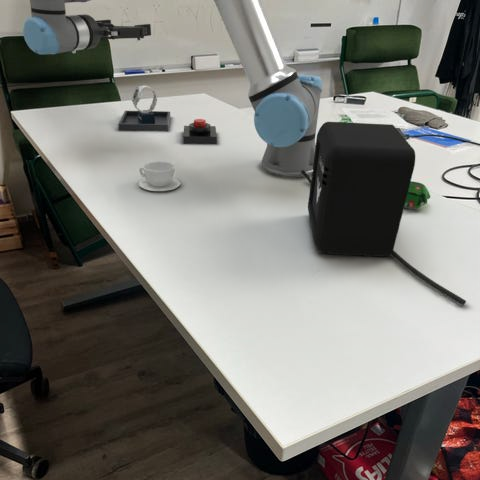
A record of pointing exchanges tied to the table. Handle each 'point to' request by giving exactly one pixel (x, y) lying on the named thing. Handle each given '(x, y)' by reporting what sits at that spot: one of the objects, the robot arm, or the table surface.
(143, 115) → the watch
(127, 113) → the tray
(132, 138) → the table surface
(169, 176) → the teacup
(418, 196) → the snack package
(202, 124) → the button
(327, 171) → the air purifier
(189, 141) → the control block
